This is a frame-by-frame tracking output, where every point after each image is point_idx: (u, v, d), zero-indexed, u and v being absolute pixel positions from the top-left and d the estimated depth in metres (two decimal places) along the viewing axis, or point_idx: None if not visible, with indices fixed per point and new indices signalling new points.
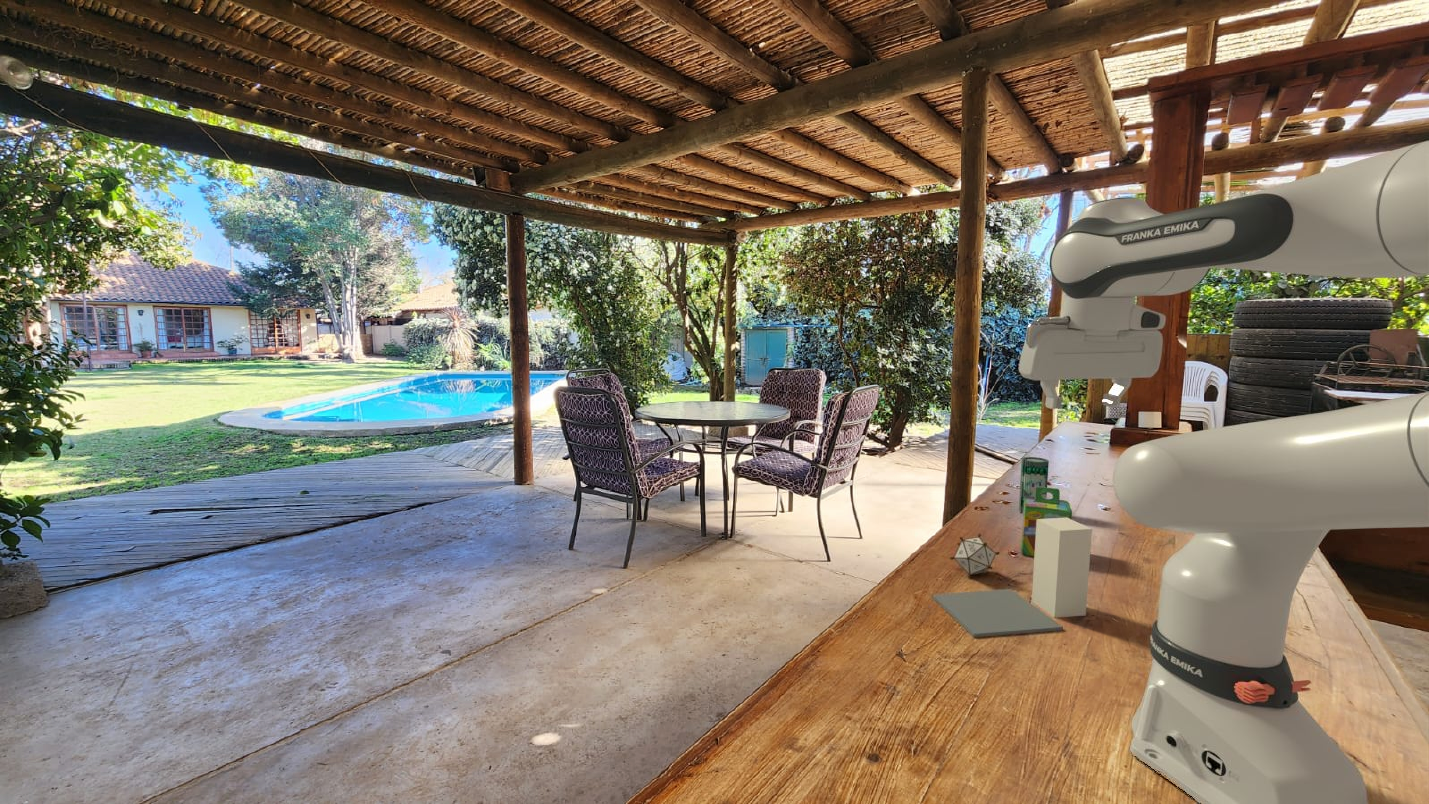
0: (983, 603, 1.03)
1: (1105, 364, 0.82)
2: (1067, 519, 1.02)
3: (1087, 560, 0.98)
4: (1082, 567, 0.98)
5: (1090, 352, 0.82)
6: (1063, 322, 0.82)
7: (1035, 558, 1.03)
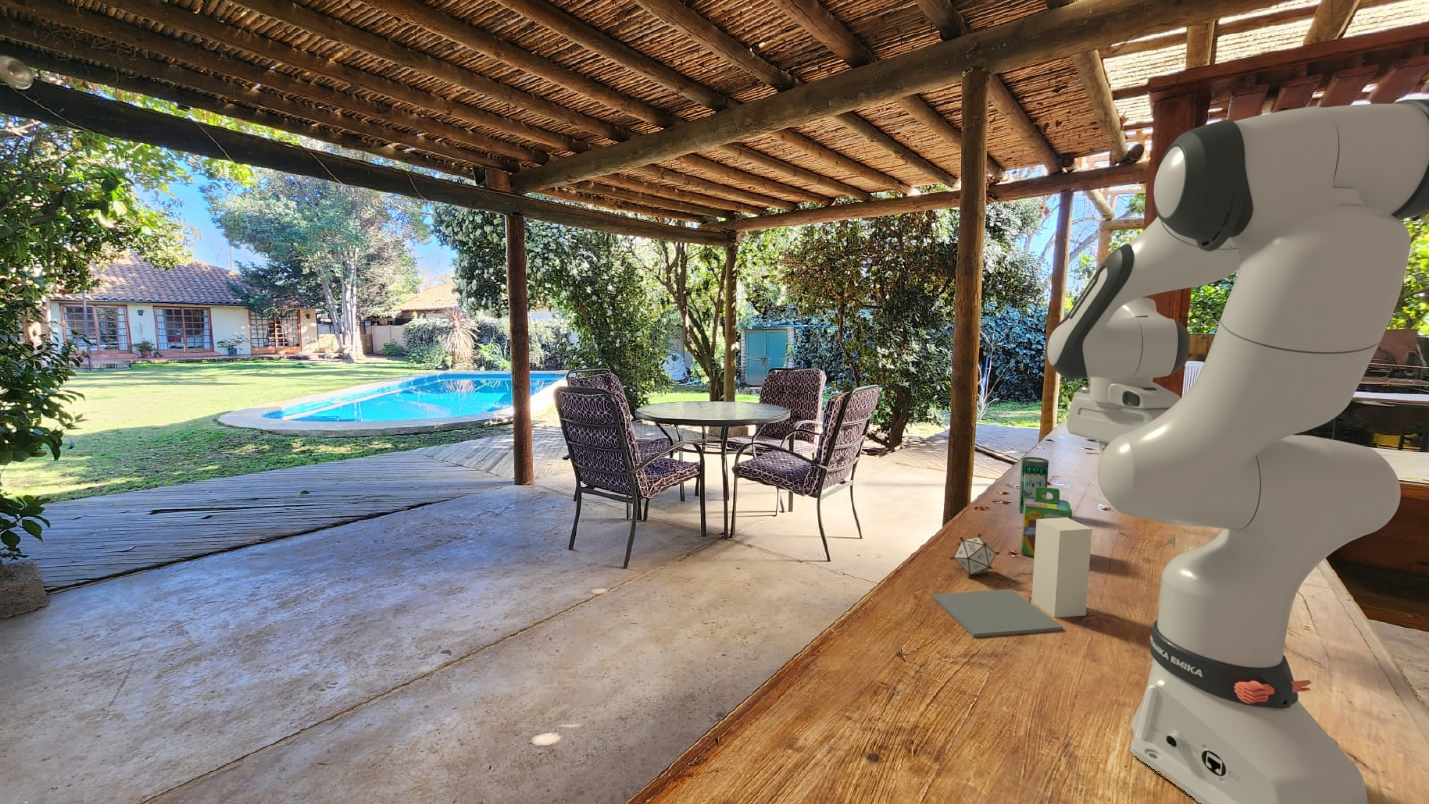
0: (983, 603, 1.03)
1: (1113, 432, 0.97)
2: (1067, 519, 1.02)
3: (1087, 559, 0.98)
4: (1082, 567, 0.98)
5: (1104, 420, 0.99)
6: None
7: (1035, 558, 1.03)
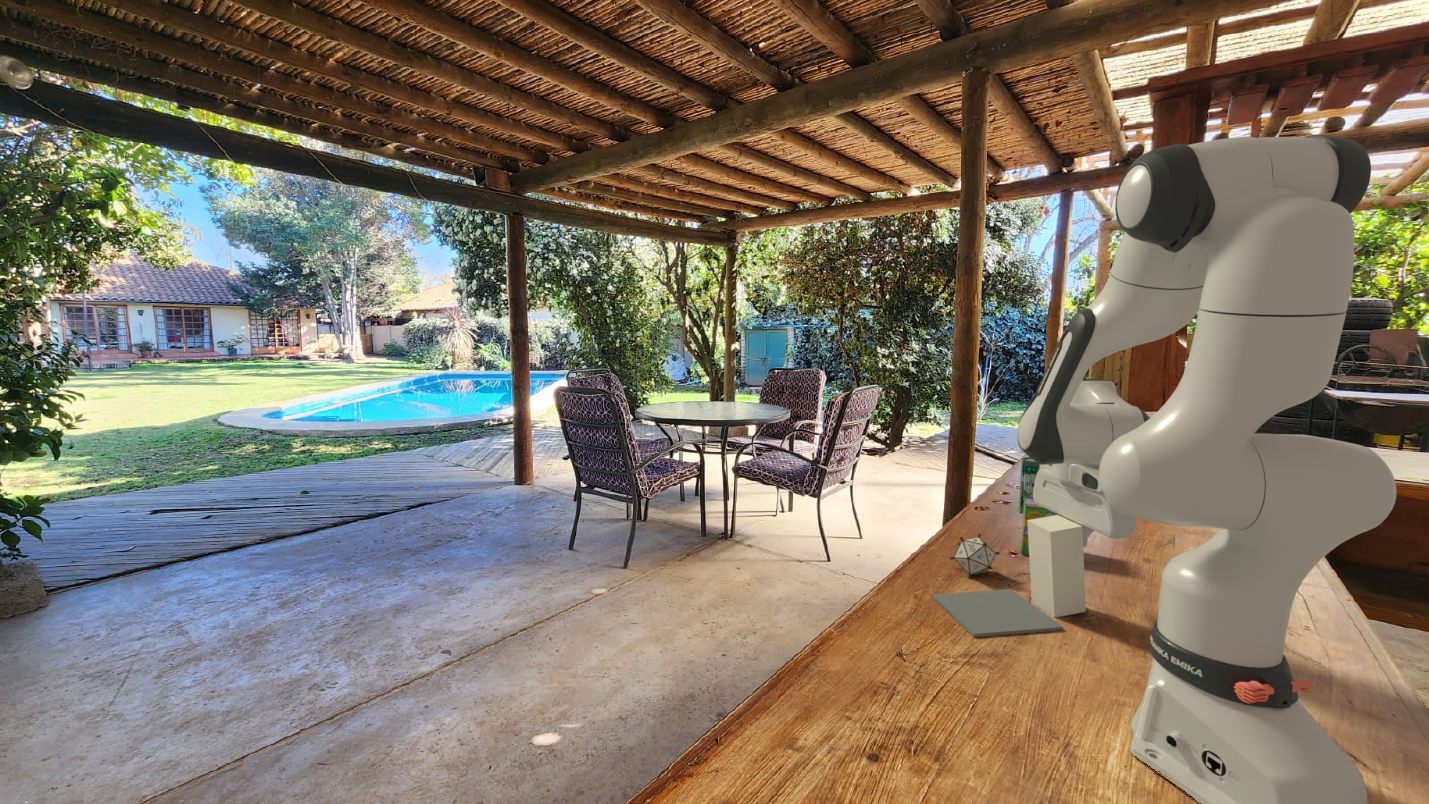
0: (983, 603, 1.03)
1: (1074, 509, 0.98)
2: (1058, 517, 1.02)
3: (1081, 557, 0.98)
4: (1077, 565, 0.98)
5: (1066, 496, 1.01)
6: None
7: (1030, 559, 1.03)
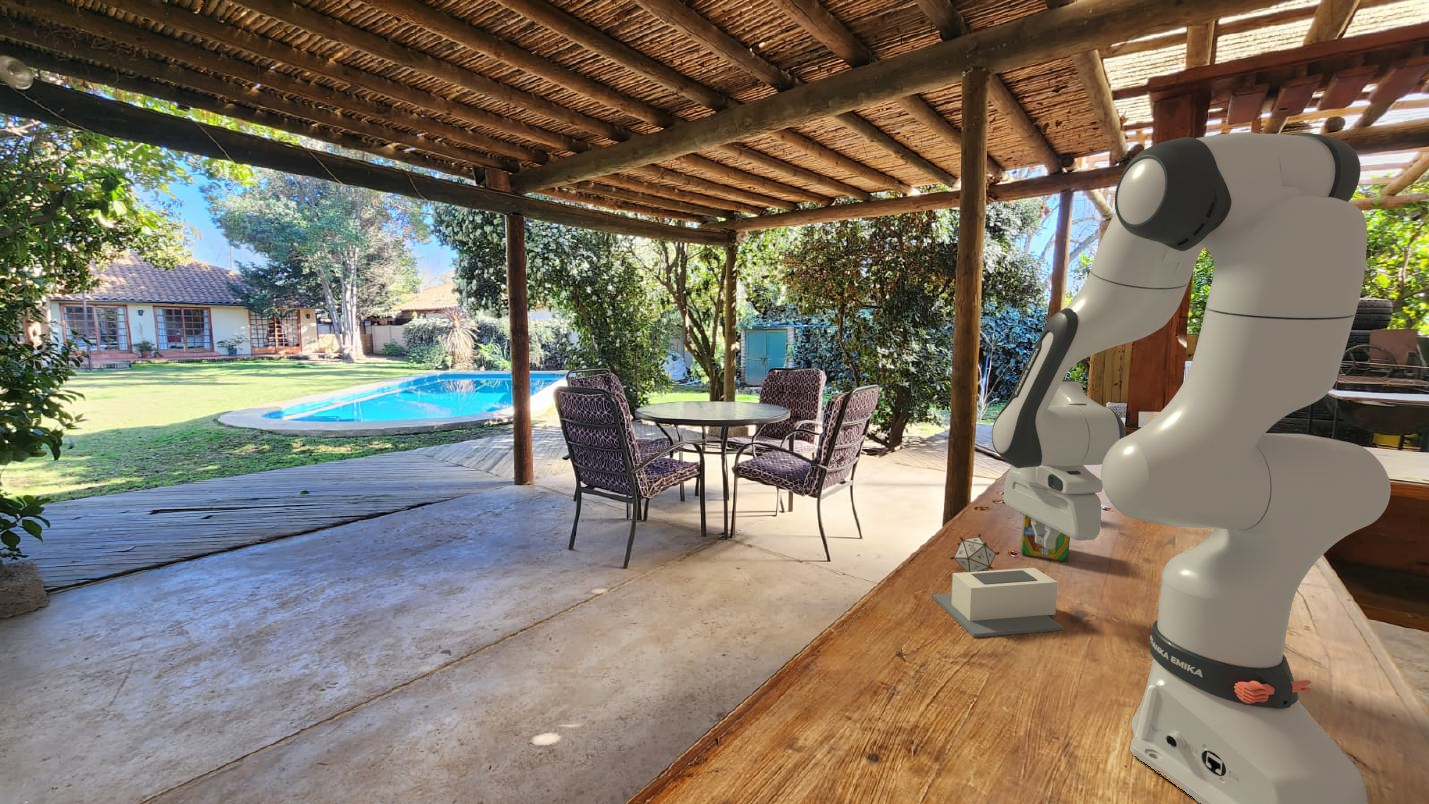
0: None
1: (1042, 511, 0.98)
2: (955, 579, 1.01)
3: (1001, 588, 0.97)
4: (1008, 592, 0.97)
5: (1034, 497, 1.00)
6: None
7: None
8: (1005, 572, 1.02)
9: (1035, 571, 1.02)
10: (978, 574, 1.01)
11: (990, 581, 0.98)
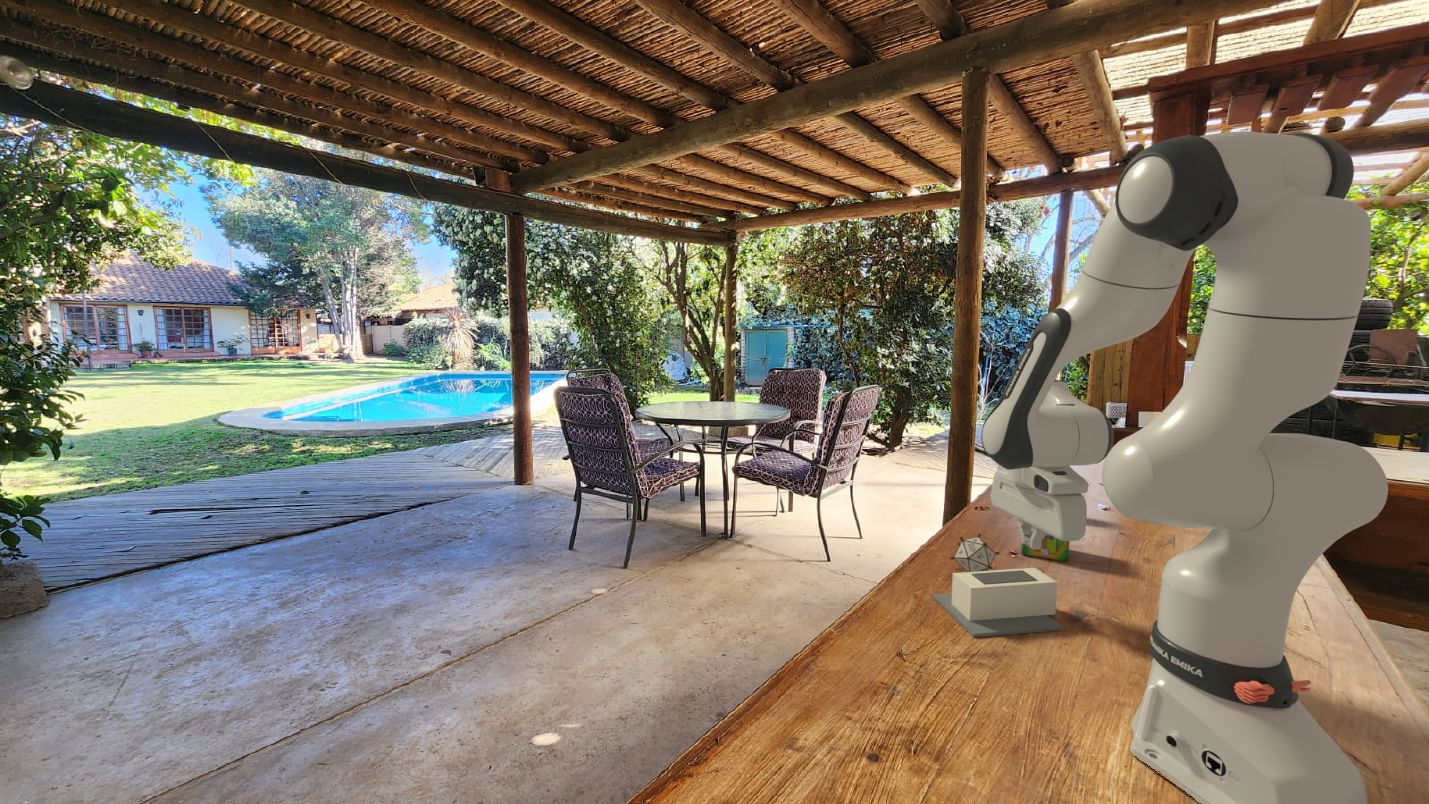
0: None
1: (1028, 511, 0.97)
2: (955, 579, 1.01)
3: (1001, 588, 0.97)
4: (1008, 592, 0.97)
5: (1021, 498, 1.00)
6: None
7: None
8: (1005, 572, 1.02)
9: (1035, 571, 1.02)
10: (978, 574, 1.01)
11: (990, 581, 0.98)
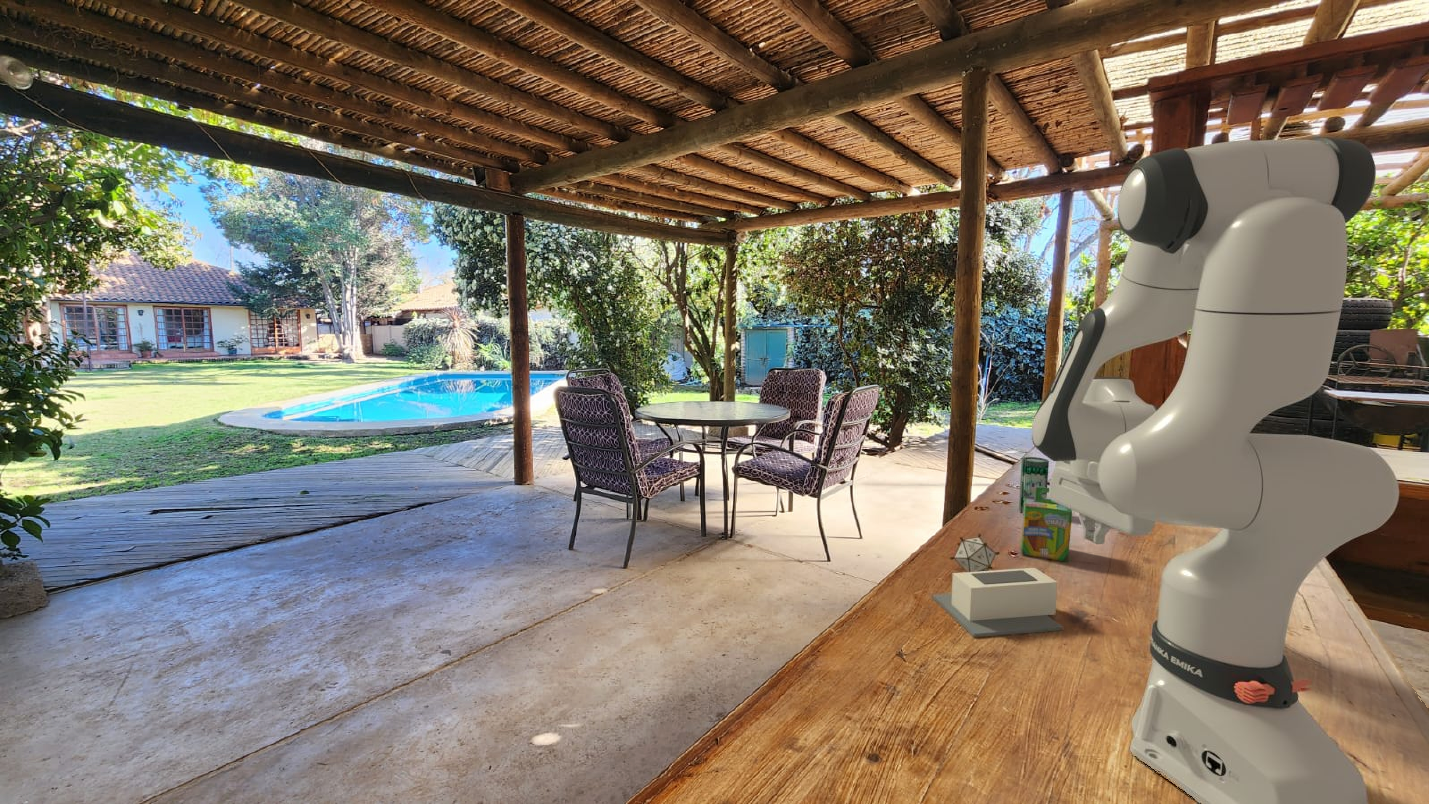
0: None
1: (1092, 507, 0.99)
2: (955, 579, 1.01)
3: (1001, 588, 0.97)
4: (1008, 592, 0.97)
5: (1084, 493, 1.01)
6: None
7: None
8: (1005, 572, 1.02)
9: (1035, 571, 1.02)
10: (978, 574, 1.01)
11: (990, 581, 0.98)
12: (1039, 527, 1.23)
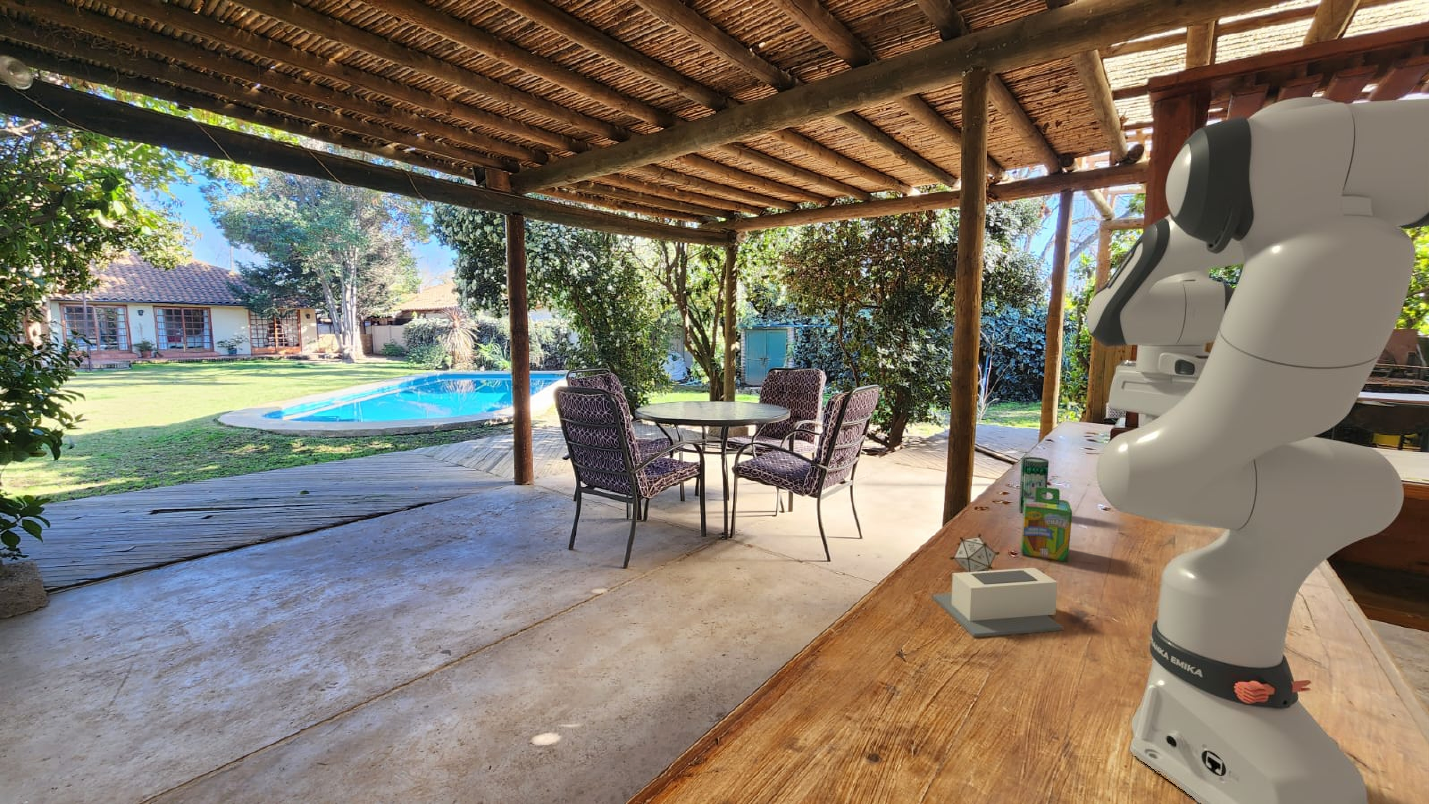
0: None
1: (1162, 404, 0.94)
2: (955, 579, 1.01)
3: (1001, 588, 0.97)
4: (1008, 592, 0.97)
5: (1151, 392, 0.96)
6: None
7: None
8: (1005, 572, 1.02)
9: (1035, 571, 1.02)
10: (978, 574, 1.01)
11: (990, 581, 0.98)
12: (1039, 527, 1.23)
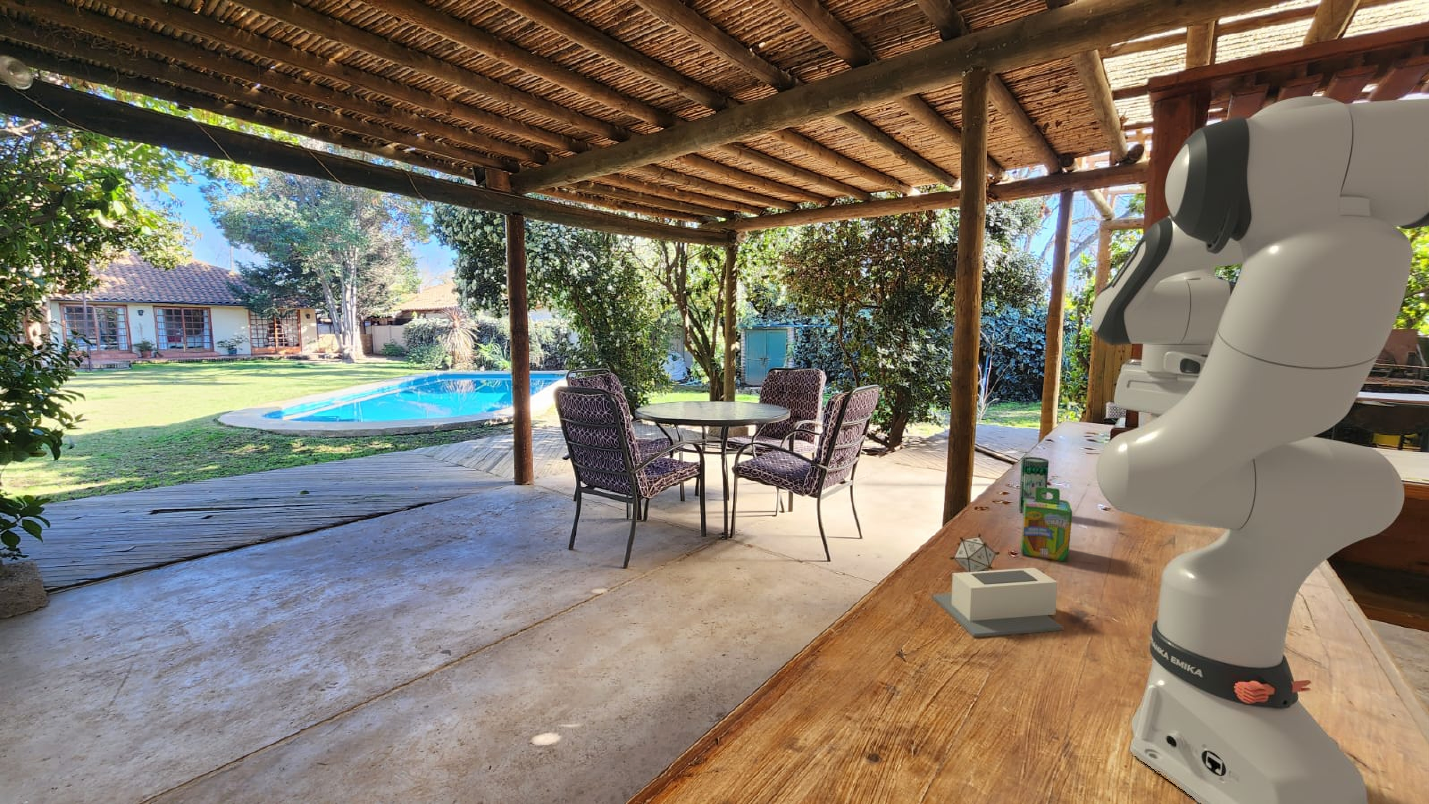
0: None
1: (1167, 403, 0.93)
2: (955, 579, 1.01)
3: (1001, 588, 0.97)
4: (1008, 592, 0.97)
5: (1157, 391, 0.95)
6: None
7: None
8: (1005, 572, 1.02)
9: (1035, 571, 1.02)
10: (978, 574, 1.01)
11: (990, 581, 0.98)
12: (1039, 527, 1.23)
